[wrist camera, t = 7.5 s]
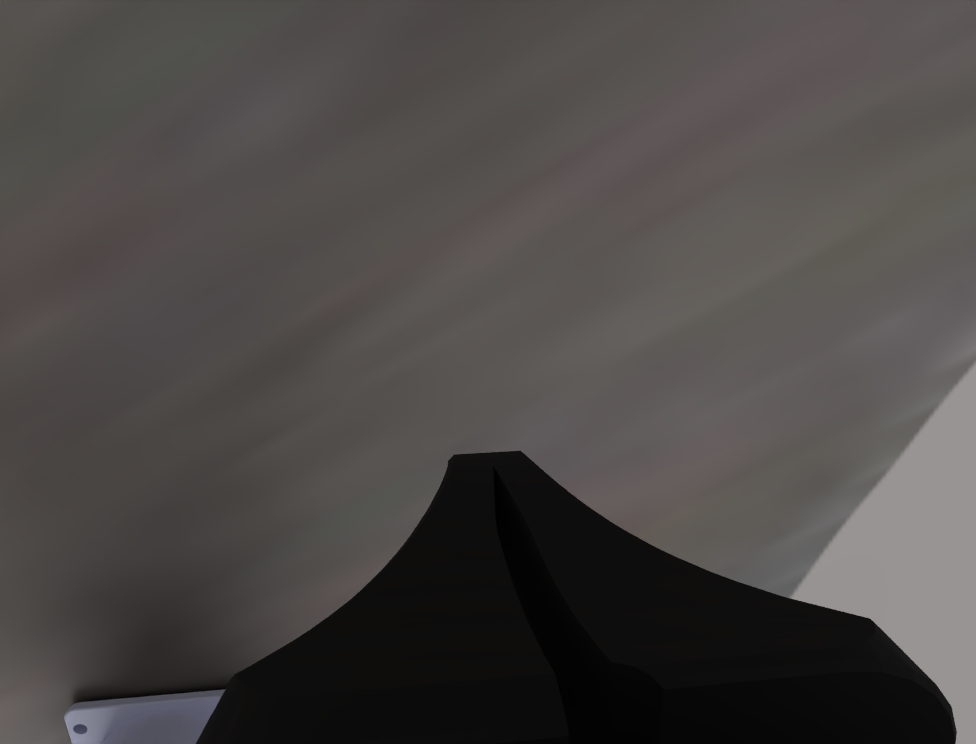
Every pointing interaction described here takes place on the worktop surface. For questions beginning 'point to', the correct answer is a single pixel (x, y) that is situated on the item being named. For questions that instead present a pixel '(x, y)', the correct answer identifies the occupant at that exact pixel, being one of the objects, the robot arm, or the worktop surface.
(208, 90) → the worktop surface
